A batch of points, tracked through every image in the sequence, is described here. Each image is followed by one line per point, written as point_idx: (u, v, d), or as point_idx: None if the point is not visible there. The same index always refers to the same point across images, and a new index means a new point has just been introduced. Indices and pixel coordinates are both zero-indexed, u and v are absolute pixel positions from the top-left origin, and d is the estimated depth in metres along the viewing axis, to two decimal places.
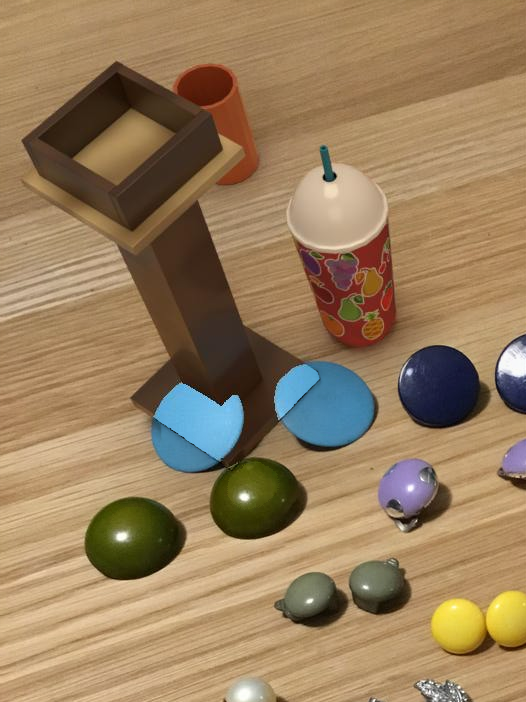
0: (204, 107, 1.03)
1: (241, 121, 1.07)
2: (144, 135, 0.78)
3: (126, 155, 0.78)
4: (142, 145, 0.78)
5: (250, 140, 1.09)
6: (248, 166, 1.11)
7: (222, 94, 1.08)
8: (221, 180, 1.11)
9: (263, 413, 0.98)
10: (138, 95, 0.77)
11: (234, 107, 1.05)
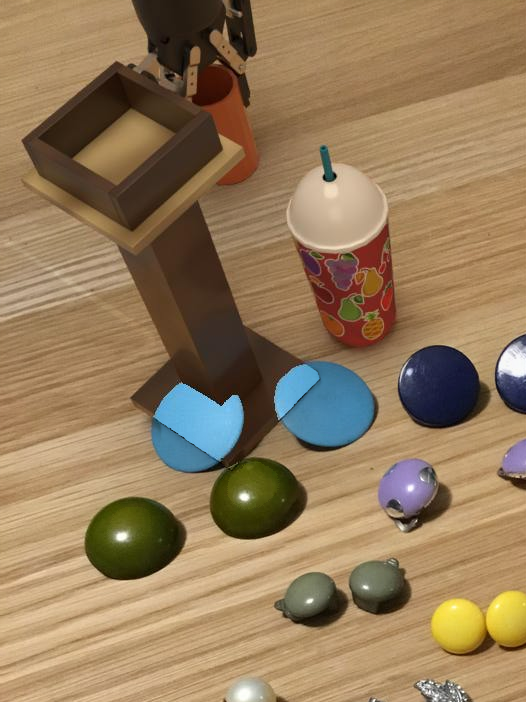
0: (204, 107, 1.03)
1: (241, 121, 1.07)
2: (144, 135, 0.78)
3: (126, 155, 0.78)
4: (142, 145, 0.78)
5: (250, 140, 1.09)
6: (248, 166, 1.11)
7: (222, 94, 1.08)
8: (221, 180, 1.11)
9: (263, 413, 0.98)
10: (138, 95, 0.77)
11: (234, 107, 1.05)
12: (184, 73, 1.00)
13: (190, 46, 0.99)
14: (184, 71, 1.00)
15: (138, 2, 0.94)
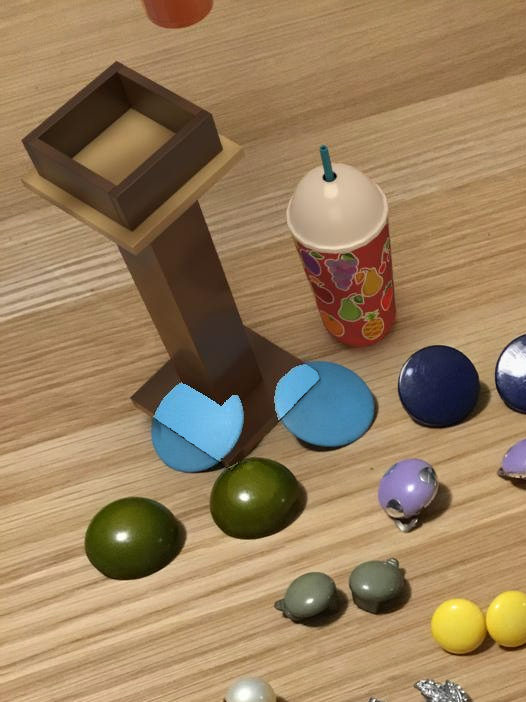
0: None
1: None
2: (144, 135, 0.78)
3: (126, 155, 0.78)
4: (142, 145, 0.78)
5: None
6: (200, 6, 0.95)
7: None
8: (169, 22, 0.95)
9: (263, 413, 0.98)
10: (138, 95, 0.77)
11: None
12: None
13: None
14: None
15: None
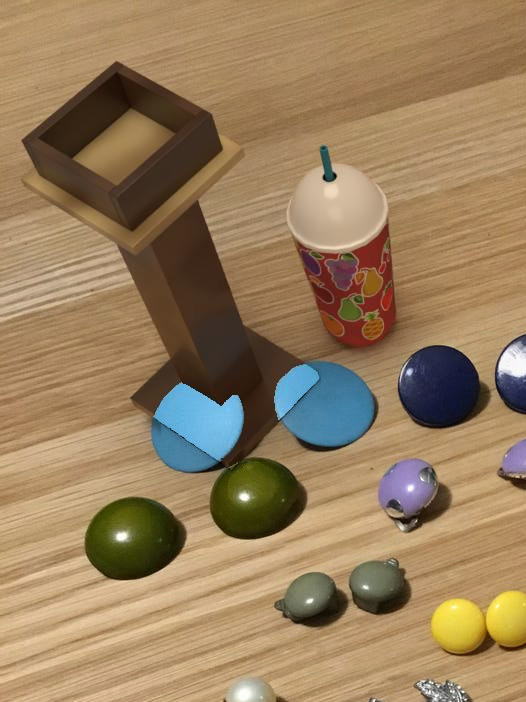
0: None
1: None
2: (144, 135, 0.78)
3: (126, 155, 0.78)
4: (142, 145, 0.78)
5: None
6: None
7: None
8: None
9: (263, 413, 0.98)
10: (138, 95, 0.77)
11: None
12: None
13: None
14: None
15: None
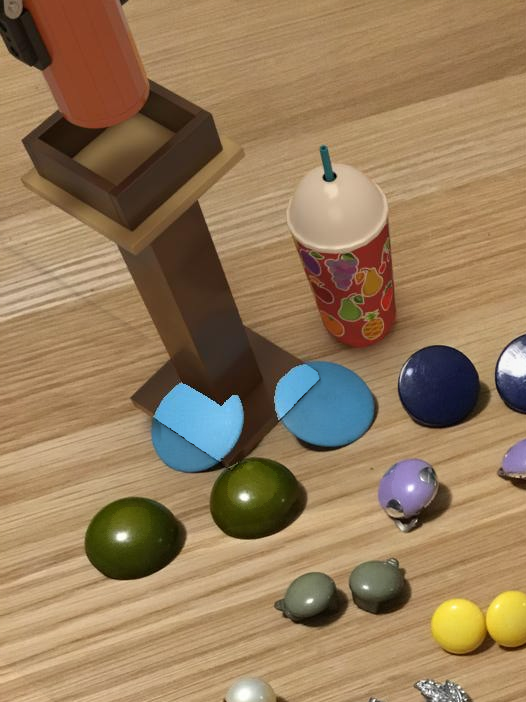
0: None
1: (112, 23, 0.66)
2: (144, 135, 0.78)
3: (126, 155, 0.78)
4: (142, 145, 0.78)
5: (131, 57, 0.69)
6: (130, 99, 0.71)
7: None
8: (87, 120, 0.71)
9: (263, 413, 0.98)
10: None
11: None
12: None
13: None
14: None
15: None
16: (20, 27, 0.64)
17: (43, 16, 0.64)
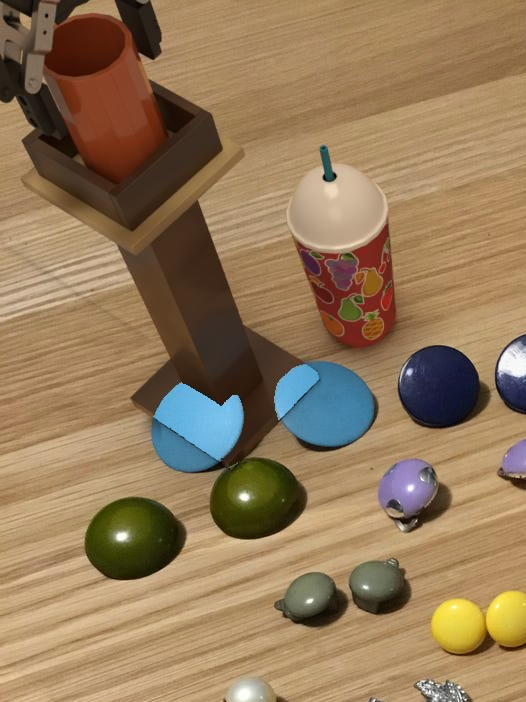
0: (80, 78, 0.68)
1: (141, 100, 0.71)
2: None
3: None
4: None
5: (158, 129, 0.74)
6: None
7: (114, 60, 0.73)
8: None
9: (263, 413, 0.98)
10: None
11: (128, 79, 0.70)
12: None
13: None
14: (34, 9, 0.64)
15: None
16: (39, 101, 0.68)
17: (78, 97, 0.69)
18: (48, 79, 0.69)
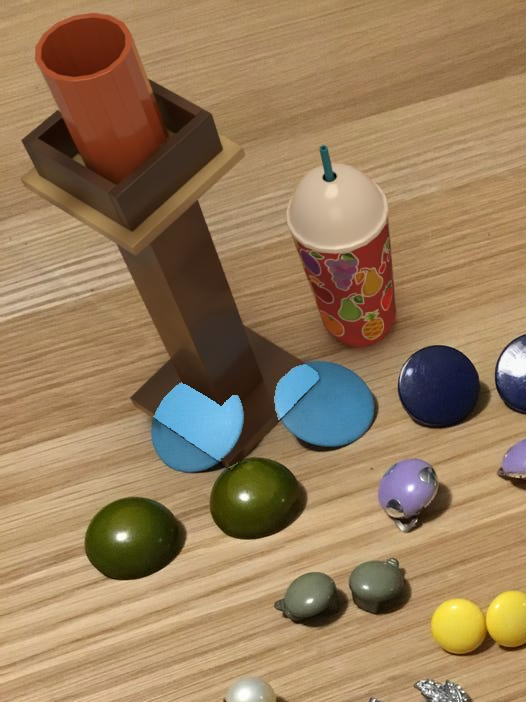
0: (80, 78, 0.68)
1: (141, 100, 0.71)
2: None
3: None
4: None
5: (158, 129, 0.74)
6: None
7: (114, 60, 0.73)
8: None
9: (263, 413, 0.98)
10: None
11: (128, 79, 0.70)
12: None
13: None
14: None
15: None
16: None
17: (78, 97, 0.69)
18: (48, 79, 0.69)
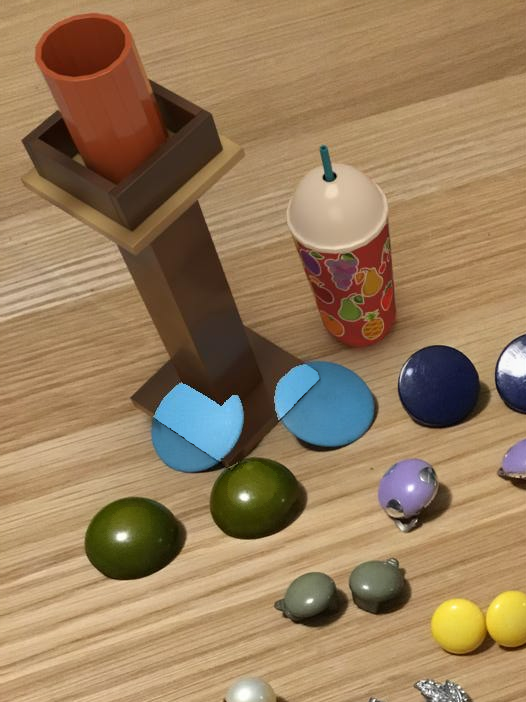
0: (80, 78, 0.68)
1: (141, 100, 0.71)
2: None
3: None
4: None
5: (158, 129, 0.74)
6: None
7: (114, 60, 0.73)
8: None
9: (263, 413, 0.98)
10: None
11: (128, 79, 0.70)
12: None
13: None
14: None
15: None
16: None
17: (78, 97, 0.69)
18: (48, 79, 0.69)
